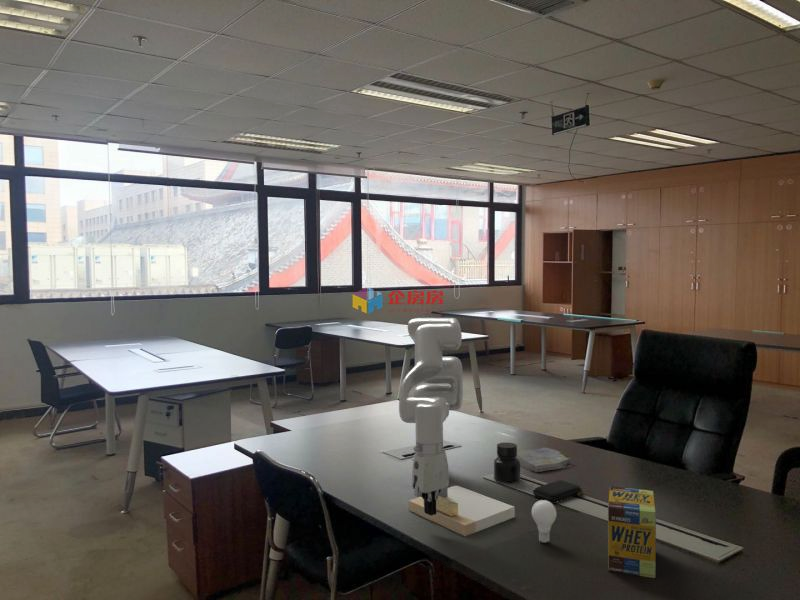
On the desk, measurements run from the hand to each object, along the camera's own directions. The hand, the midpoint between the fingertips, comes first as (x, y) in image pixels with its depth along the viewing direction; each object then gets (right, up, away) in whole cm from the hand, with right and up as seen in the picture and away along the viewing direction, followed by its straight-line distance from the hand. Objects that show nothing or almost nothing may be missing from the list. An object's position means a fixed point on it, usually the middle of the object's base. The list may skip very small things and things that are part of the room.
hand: (430, 513), depth 165 cm
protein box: (+48, -5, -19) cm, 52 cm away
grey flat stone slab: (+45, -3, +59) cm, 74 cm away
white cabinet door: (+9, -4, +11) cm, 15 cm away
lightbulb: (+29, -5, -8) cm, 31 cm away
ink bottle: (+28, -3, +41) cm, 50 cm away
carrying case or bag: (+42, -4, +25) cm, 49 cm away
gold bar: (+3, -1, +7) cm, 7 cm away
